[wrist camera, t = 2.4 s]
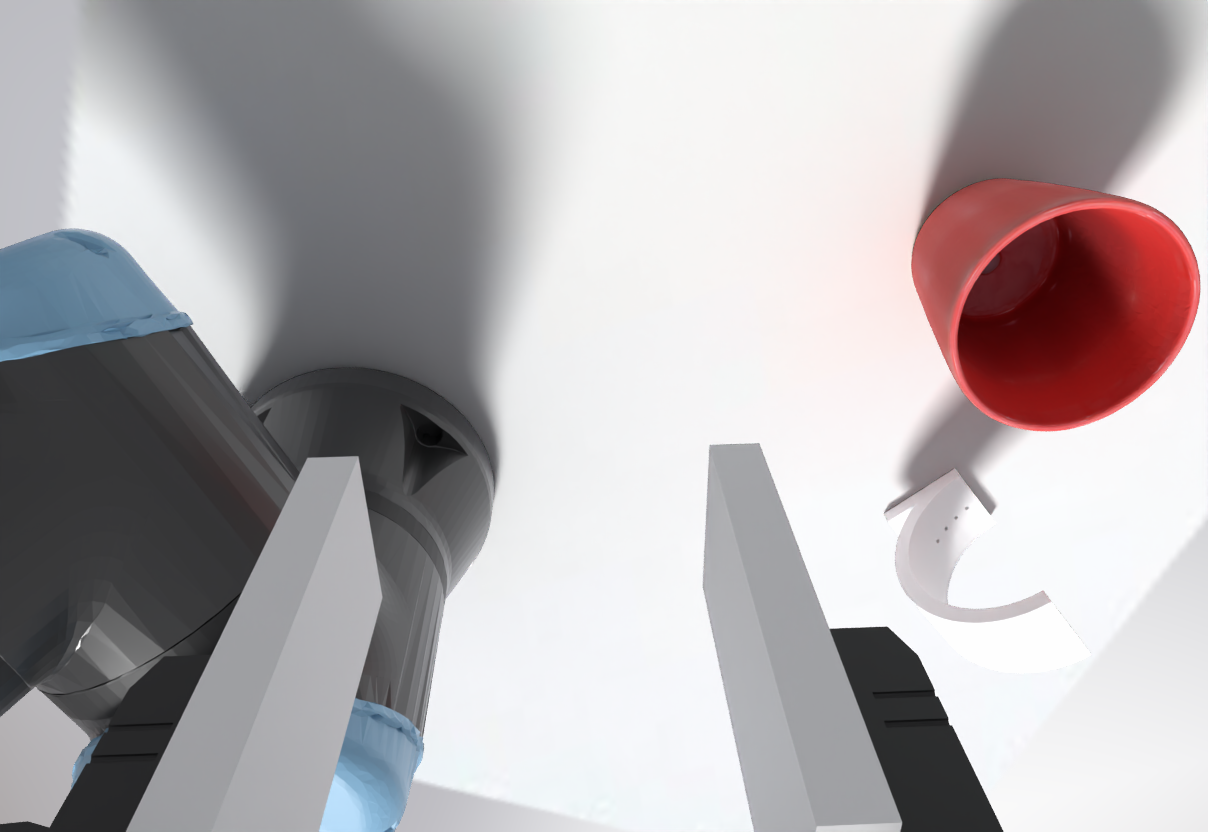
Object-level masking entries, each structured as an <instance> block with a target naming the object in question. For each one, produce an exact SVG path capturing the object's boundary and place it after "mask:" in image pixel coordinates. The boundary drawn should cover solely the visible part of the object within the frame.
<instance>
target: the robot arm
mask: <svg viewBox="0 0 1208 832" xmlns="http://www.w3.org/2000/svg"><path fill="white" fill-rule="evenodd" d="M192 324H193V322H192V320H191V319H190V317H189V316H188V315H187V314H186V313H183V312H179V311H178V310H177V309H176V308H175V307H174V306H173V305H172V303H171V302H170V301H169V300H168V299H167V298H166V297H165V295H164V294H163V293H162V292H161V291H160V290H159V288H158V287H157V286H156V285H155V284H154V283H153V282H152V280H151V279H150V278H149V277H148V276H147V274H146V273H145V272H144V271H143V270H142V268H141V267H140V266H139V265H138V263H137V262H136V261H135V260H134V259H133V257H132V256H131V255H130V254H129V253H128V252H127V251H126V250H125V249H124V248H123V247H122V246H121V245H119V244H118V243H117V242H115V241H114V240H112V239H111V238H109V237H107V236H105V235H102V234H100V233H97V232H93V231H89V230H83V229H61V230H56V231H52V232H49V233H46V234H42V235H40V236H36V237H33V238H31V239H28V240H25V241H22V242H19V243H16V244H14V245H11V246H8V247H5V248H3V249H0V717H1V716H2V715H3V714H4V713H5V712H6V711H8V710H9V709H10V708H11V707H12V706H13V705H14V704H16V703H17V702H18V701H19V700H20V699H21V698H22V697H24V696H25V695H26V694H27V693H28V692H29V691H31V690H32V689H33V688H34V687H37V689H38V690H40V691H41V692H42V693H43V694H45V695H46V696H47V697H48V698H49V699H50V700H51V701H52V702H53V703H54V704H55V705H56V706H58V707H59V708H60V709H61V710H62V711H63V712H64V713H65V714H66V715H67V716H68V717H69V718H70V719H72V720H73V721H74V722H75V723H76V724H77V725H78V726H79V727H80V728H81V729H82V730H83V731H84V732H85V733H86V734H87V735H88V736H89V737H90V740H91V742H90V743H89V744H88V746H87V747H85V749H83V750H82V752H81V754H80V755H79V757H78V759H77V761H76V762H75V764H74V767H73V774H72V777H73V783H72V786H71V791H70V793H69V795H68V796H67V798H66V800H65V802H64V803H63V805H62V807H61V808H60V810H59V812H58V814H57V816H56V817H55V819H54V821H53V823H52V824H51V826H50V828H48V827H45V826H42V825H38V824H35V823H31V822H18V823H8V824H0V832H395V829H396V827H397V826H398V825H399V823H400V820H401V818H402V816H403V813H404V811H405V807H406V803H407V799H408V795H409V791H410V787H411V783H412V779H413V775H414V773H415V771H416V769H417V767H418V766H419V764H420V763H421V760H422V757H423V751H424V743H423V742H422V741H423V733H424V727H425V720H426V714H427V708H428V702H429V695H430V689H431V683H432V677H433V670H434V664H435V658H436V652H437V645H438V639H439V633H440V627H441V621H442V616H443V610H444V603H445V599H446V598H447V597H448V595H449V594H450V593H451V591H452V590H453V589H454V587H455V586H456V585H457V583H458V582H459V581H460V579H461V578H462V576H463V575H464V574H465V572H466V571H467V570H468V568H469V567H470V566H471V564H472V563H473V562H474V560H475V559H476V557H477V556H478V554H479V552H480V550H481V548H482V546H483V544H484V542H485V539H486V536H487V533H488V530H489V526H490V521H491V514H492V506H493V499H494V479H493V472H492V467H491V463H490V460H489V457H488V454H487V452H486V449H485V447H484V445H483V443H482V441H481V439H480V438H479V436H478V434H477V433H476V431H475V430H474V429H473V427H472V426H471V424H470V423H469V422H468V421H467V420H466V419H465V417H464V416H463V415H462V414H461V413H460V412H459V411H458V410H457V409H456V408H454V407H453V406H452V405H451V404H450V403H449V402H447V401H446V400H445V399H443V398H442V397H441V396H439V395H438V394H436V393H435V392H433V391H431V390H430V389H428V388H426V387H424V386H422V385H420V384H418V383H416V382H414V381H411V380H409V379H407V378H404V377H401V376H398V375H395V374H391V373H387V372H383V371H378V370H372V369H365V368H332V369H324V370H319V371H314V372H310V373H306V374H303V375H300V376H297V377H295V378H292V379H290V380H288V381H286V382H284V383H282V384H280V385H278V386H276V387H275V388H273V389H272V390H270V391H269V392H268V393H266V394H265V395H264V396H263V397H261V398H260V399H259V400H258V401H257V402H256V403H255V404H254V405H253V406H252V407H251V408H250V406H249V405H248V404H247V402H246V401H245V400H244V398H243V397H242V396H241V394H240V393H239V392H238V390H237V389H236V387H235V386H234V385H233V383H232V382H231V381H230V379H229V378H228V377H227V375H226V374H225V372H224V371H223V370H222V368H221V367H220V366H219V364H218V363H217V362H216V360H215V359H214V357H213V356H212V355H211V353H210V352H209V351H208V349H207V348H206V347H205V345H204V344H203V342H202V341H201V340H200V338H199V337H198V336H197V334H196V333H195V332H194V330H193V329H192V327H191V326H190V325H192ZM703 590H704V595H705V599H706V604H707V609H708V614H709V618H710V623H711V628H712V633H713V638H714V642H715V647H716V652H717V657H718V661H719V666H720V671H721V676H722V680H723V685H724V690H725V695H726V700H727V704H728V709H729V714H730V719H731V723H732V728H733V733H734V738H735V742H736V747H737V752H738V757H739V762H740V766H741V771H742V776H743V781H744V785H745V790H746V795H747V800H748V804H749V809H750V814H751V819H752V824H753V828H754V832H1003V830H1002V828H1001V826H1000V824H999V821H998V819H997V817H996V815H995V813H994V811H993V809H992V807H991V805H990V803H989V801H988V799H987V797H986V795H985V793H984V790H983V788H982V786H981V784H980V782H979V780H978V778H977V776H976V774H975V772H974V770H973V768H972V766H971V764H970V762H969V760H968V758H967V755H966V753H965V751H964V749H963V747H962V745H961V743H960V741H959V739H958V737H957V735H956V733H955V731H954V729H953V727H952V726H950V725H949V722H948V716H947V714H946V712H945V710H944V708H943V706H942V704H941V702H940V700H939V698H938V697H936V696H935V692H934V691H935V690H934V687H933V685H932V683H931V681H930V679H929V677H928V675H927V673H926V671H925V669H924V667H923V665H922V663H921V661H920V659H919V657H918V655H917V654H916V653H915V652H914V651H913V650H912V649H911V648H909V647H908V646H907V645H906V644H905V643H904V642H903V641H902V640H901V639H900V638H899V637H898V636H897V635H896V634H895V633H894V632H892V631H891V630H890V629H889V628H888V627H865V628H839V629H829V627H828V624H827V622H826V619H825V616H824V614H823V611H822V608H821V606H820V603H819V600H818V598H817V595H816V593H815V590H814V587H813V585H812V582H811V579H810V577H809V574H808V571H807V569H806V566H805V563H804V561H803V558H802V555H801V553H800V550H799V547H798V545H797V542H796V540H795V537H794V534H793V532H792V529H791V526H790V524H789V521H788V518H787V516H786V513H785V510H784V508H783V505H782V502H781V500H780V497H779V494H778V492H777V489H776V487H775V484H774V481H773V479H772V476H771V473H770V471H769V468H768V465H767V463H766V460H765V457H764V455H763V452H762V449H761V447H760V444H759V443H757V444H726V445H710V448H709V469H708V489H707V509H706V529H705V549H704V570H703Z"/></svg>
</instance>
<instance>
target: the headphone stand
mask: <svg viewBox="0 0 1208 832" xmlns="http://www.w3.org/2000/svg"><path fill="white" fill-rule="evenodd" d="M884 516H885V517H886V519H887V521H888V522H889V524H890V525H891V526H892V527H893V528H894V530H895V531H896V532H897V533H898V534H899V537H898V540H897V545H896V552H895V566H896V572H897V576H898V579H899V582H900V584H901V586H902V588H903V589H904V591H905V593H906V594H907V595H908V597H909V598H910V599H911V600H912V601H913V602H914V604H915V605H916V606H917V607H918V608H919V609H920V610H921V612H922V613H923V614H924V615H925V616H926V617H927V619H928V620H929V621H930V622H931V623H932V624H933V625H934V627H935V628H936V629H937V630H938V631H939V632H940V634H941V635H942V636H943V637H944V638H945V639H946V640H947V642H948V643H949V644H950V645H951V646H952V647H953V648H954V649H955V650H956V651H957V652H958V653H959V654H961V655H962V656H964V657H965V658H966V659H968V660H970V661H972V662H974V663H976V664H978V665H980V666H983V667H986V668H989V669H993V670H997V671H1002V672H1010V673H1034V672H1043V671H1048V670H1053V669H1057V668H1061V667H1064V666H1067V665H1070V664H1073V663H1075V662H1078V661H1080V660H1082V659H1084V658H1087V657H1089V656H1091V655H1092V654H1091V653H1090V652H1089V650H1088V649H1087V648H1086V646H1085V645H1084V643H1083V642H1082V641H1081V639H1080V638H1079V637H1078V636H1077V634H1076V633H1075V632H1074V630H1073V629H1072V628H1071V626H1070V625H1069V624H1068V622H1067V621H1066V620H1065V618H1064V617H1063V616H1062V615H1061V613H1060V612H1059V611H1058V609H1057V608H1056V607H1055V605H1054V604H1053V603H1052V601H1051V600H1050V599H1049V597H1048V596H1047V595H1046V594H1045V592H1044V591H1041V592H1039V593H1037V594H1035V595H1033V596H1031V597H1029V598H1026V599H1024V600H1022V601H1019V602H1016V603H1012V604H1009V605H1005V606H1001V607H996V608H987V609H967V608H959V607H955V606H951V605H948V600H947V596H948V587H949V582H950V579H951V576H952V573H953V570H954V568H955V566H956V564H957V563H958V561H959V559H960V557H961V556H962V555H963V553H964V552H965V551H966V549H967V548H968V547H969V546H970V545H971V544H972V543H973V542H974V541H975V540H976V539H977V538H978V537H979V536H980V535H981V534H982V533H984V532H985V531H986V530H988V529H989V528H990V527H992V526H994V525H995V524H997V523H996V522H995V521H994V519H993V518H992V517H991V515H990V514H989V513H988V511H987V510H986V509H985V507H984V506H983V505H982V503H981V502H980V501H979V499H978V498H977V497H976V495H975V494H974V493H973V492H972V490H971V489H970V488H969V486H968V485H967V484H966V482H965V481H964V480H963V478H962V477H961V476H960V474H959V473H958V472H957V470H956V469H953V470H951V471H950V472H948V473H947V474H945V475H944V476H942V477H940V478H939V479H937V480H936V481H934V482H933V483H931V484H929V485H928V486H926V487H925V488H923V489H922V490H920V491H918V492H917V493H915V494H914V495H912V496H911V497H909V498H907V499H906V500H904V501H903V502H901V503H900V504H898V505H896V506H895V507H893V508H892V509H890V510H889V511H887V512H885V513H884Z"/></svg>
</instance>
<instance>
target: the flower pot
mask: <svg viewBox="0 0 1208 832" xmlns="http://www.w3.org/2000/svg"><path fill="white" fill-rule="evenodd" d="M911 268H912V277H913V281H914V285H915V288H916V291H917V293H918V295H919V298H920V301H921V303H922V306H923V308H924V311H925V313H926V316H927V319H928V321H929V323H930V326H931V328H932V330H933V333H934V335H935V337H936V340H937V342H938V344H939V347H940V349H941V351H942V354H943V356H944V358H945V360H946V362H947V365H948V367H949V369H950V371H951V373H952V375H953V377H954V379H955V380H956V382H957V384H958V385H959V387H960V389H961V390H962V392H963V393H964V394H965V396H966V397H967V398H968V399H969V400H970V401H971V402H972V404H974V405H975V406H976V407H977V408H978V409H979V410H980V411H982V412H983V413H984V414H986V415H987V416H989V417H990V418H992V419H994V420H996V421H998V422H1001V423H1003V424H1006V425H1009V426H1012V427H1015V428H1020V429H1025V430H1032V431H1060V430H1067V429H1072V428H1076V427H1080V426H1083V425H1086V424H1089V423H1092V422H1095V421H1097V420H1100V419H1102V418H1104V417H1107V416H1109V415H1111V414H1113V413H1114V412H1116V411H1118V410H1119V409H1121V408H1123V407H1124V406H1126V405H1128V404H1129V403H1131V402H1132V401H1133V400H1135V399H1136V398H1137V397H1139V396H1140V395H1141V394H1142V393H1144V392H1145V391H1146V390H1147V389H1148V388H1150V387H1151V386H1152V385H1153V384H1154V383H1155V382H1156V381H1157V380H1158V379H1159V378H1160V377H1161V376H1162V374H1163V373H1164V372H1165V371H1166V370H1167V369H1168V367H1169V366H1170V365H1171V364H1172V362H1173V361H1174V359H1175V358H1176V356H1177V355H1178V353H1179V352H1180V350H1181V348H1182V346H1183V345H1184V343H1185V341H1186V339H1187V337H1188V335H1189V333H1190V331H1191V328H1192V325H1193V323H1194V320H1195V317H1196V313H1197V309H1198V304H1199V298H1200V274H1199V269H1198V264H1197V260H1196V257H1195V255H1194V252H1193V250H1192V247H1191V245H1190V243H1189V242H1188V240H1187V238H1186V237H1185V235H1184V234H1183V232H1182V231H1181V230H1180V228H1179V227H1178V226H1177V225H1176V224H1175V223H1174V222H1173V221H1172V220H1171V219H1169V218H1168V217H1167V216H1166V215H1164V214H1163V213H1161V212H1160V211H1158V210H1157V209H1155V208H1153V207H1151V206H1149V205H1146V204H1144V203H1141V202H1138V201H1135V200H1132V199H1128V198H1124V197H1121V196H1116V195H1111V194H1106V193H1101V192H1097V191H1092V190H1086V189H1081V188H1075V187H1069V186H1063V185H1057V184H1051V183H1043V182H1035V181H1025V180H1016V179H1006V178H1000V179H990V180H985V181H981V182H977V183H975V184H972V185H970V186H967V187H965V188H963V189H961V190H959V191H957V192H956V193H954V194H952V195H951V196H950V197H948V198H947V199H946V200H944V201H943V202H942V203H941V204H940V205H939V206H938V207H937V208H936V209H935V210H934V211H933V212H932V213H931V215H930V216H929V217H928V218H927V220H926V221H925V223H924V225H923V226H922V228H921V230H920V232H919V234H918V236H917V239H916V241H915V245H914V248H913V254H912V262H911Z"/></svg>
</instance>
